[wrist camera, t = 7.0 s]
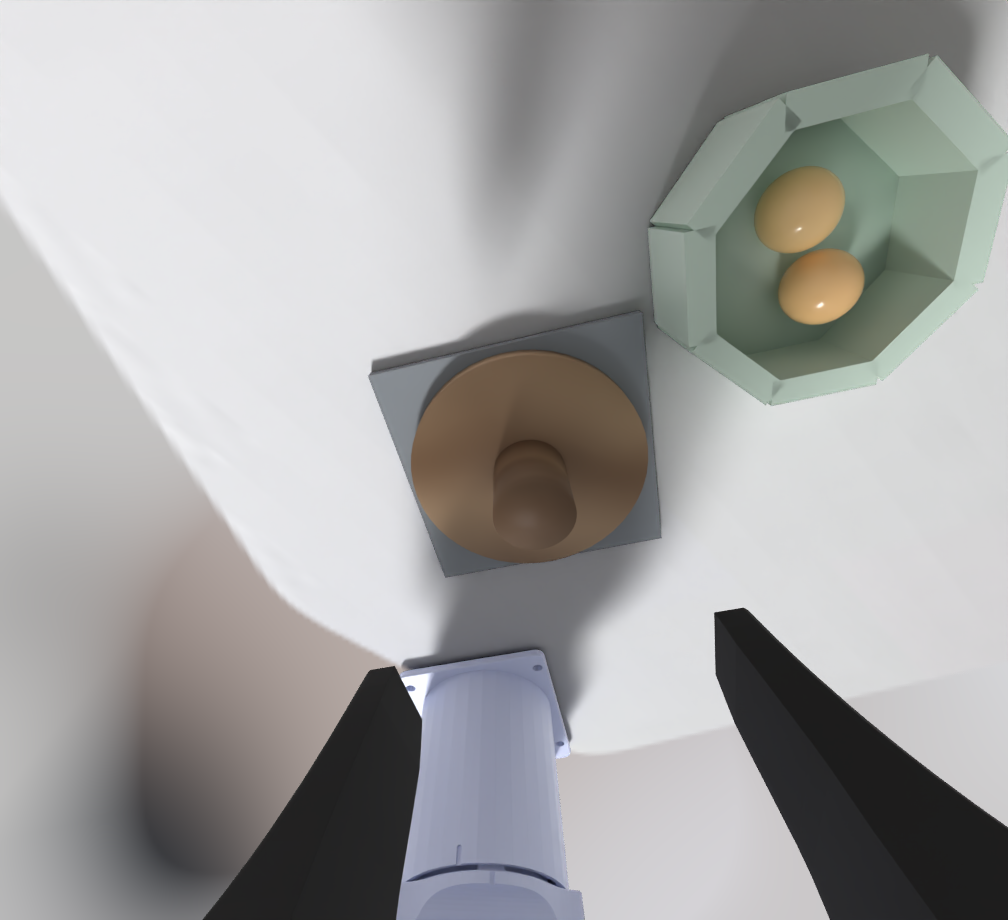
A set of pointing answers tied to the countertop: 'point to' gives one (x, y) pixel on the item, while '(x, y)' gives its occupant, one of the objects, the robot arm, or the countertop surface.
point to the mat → (596, 342)
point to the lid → (529, 457)
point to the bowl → (830, 230)
